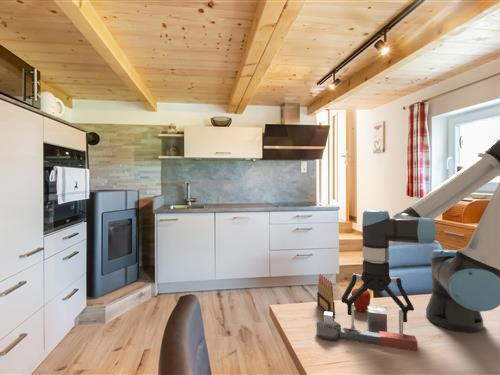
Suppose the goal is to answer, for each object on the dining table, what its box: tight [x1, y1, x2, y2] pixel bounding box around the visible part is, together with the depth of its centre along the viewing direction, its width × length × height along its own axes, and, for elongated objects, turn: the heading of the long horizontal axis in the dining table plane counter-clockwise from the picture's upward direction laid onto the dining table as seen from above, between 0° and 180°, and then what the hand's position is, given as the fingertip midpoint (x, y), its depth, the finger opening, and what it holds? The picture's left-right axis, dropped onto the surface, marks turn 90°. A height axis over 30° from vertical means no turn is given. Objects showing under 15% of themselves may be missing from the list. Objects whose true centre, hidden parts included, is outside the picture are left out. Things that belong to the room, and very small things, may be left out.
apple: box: [351, 288, 371, 312], centre depth 101 cm, size 6×6×8 cm
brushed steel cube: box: [367, 305, 388, 333], centre depth 88 cm, size 5×5×6 cm
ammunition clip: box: [316, 273, 336, 318], centre depth 102 cm, size 11×2×12 cm, turn 10°
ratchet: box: [316, 311, 419, 352], centre depth 82 cm, size 26×7×6 cm, turn 71°
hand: (376, 328), depth 88 cm, fingers open, 13 cm apart
